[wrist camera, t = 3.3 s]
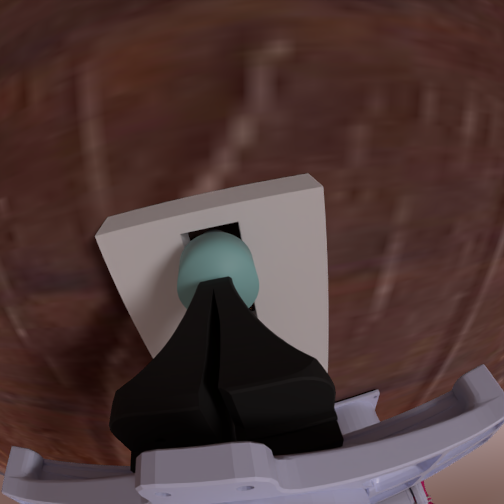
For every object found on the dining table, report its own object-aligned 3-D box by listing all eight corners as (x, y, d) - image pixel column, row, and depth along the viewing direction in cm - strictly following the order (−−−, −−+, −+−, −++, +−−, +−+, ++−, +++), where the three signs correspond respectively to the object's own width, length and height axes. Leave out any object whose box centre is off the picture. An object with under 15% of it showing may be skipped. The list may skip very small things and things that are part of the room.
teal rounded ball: (252, 264, 18) (264, 311, 14) (191, 277, 18) (189, 326, 14) (241, 207, 16) (252, 244, 13) (174, 221, 16) (166, 262, 13)
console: (318, 388, 28) (326, 408, 26) (199, 412, 27) (200, 433, 25) (308, 173, 17) (323, 186, 15) (107, 217, 17) (94, 236, 15)
